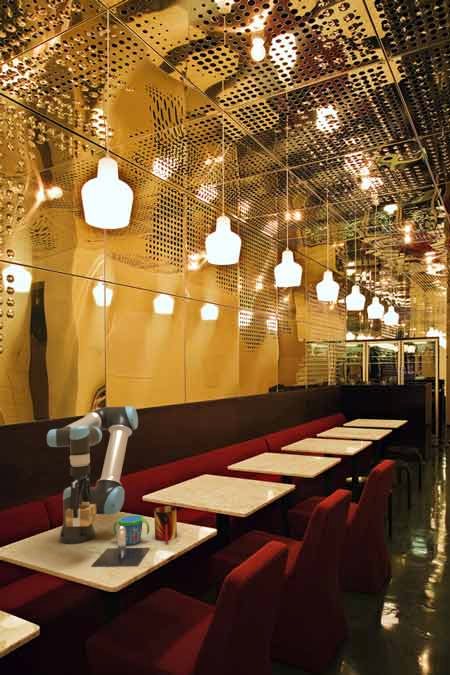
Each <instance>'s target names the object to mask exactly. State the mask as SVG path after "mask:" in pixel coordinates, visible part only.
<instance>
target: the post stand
mask: <svg viewBox="0 0 450 675" xmlns="http://www.w3.org/2000/svg"><path fill="white" fill-rule="evenodd" d="M116 535H117V536H116V538H117V547H113V548H110V547H109V548H106V549H105V550H104V552H102V553H101V554H100V556H99V557H98V558H97V559H96V560H95V561H94V562H93V563H92V564H91V567H92V568H98V567H101V568H102V567H103V568H104V567H105V568H106V567H111V568H112V567H139V566H140V564H141V562H143V560H144V558H146V555H147V554H148V552H149V551H150V550H151V547H127V545H126V532H125V527H124V526H120V525H119V526H118V527H117V529H116Z"/></svg>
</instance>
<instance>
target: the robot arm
mask: <svg viewBox="0 0 450 675" xmlns="http://www.w3.org/2000/svg"><path fill="white" fill-rule="evenodd" d="M138 425H139V416H138V413H137V410H136V408H135V407H134V406H132V405H130V406H129V405H128V406H127V405H124V406H105V407H100V408H97V409H95V410H92V411H90V412H88V413H86V414H85V415H84V416H83V417H82V418H80V419H78V420H77V421H74V422H72V423H70V424H68V425H66V426H64V427H62V428H55V429H54V428H53V429H50V430H49V431H48V432H47V434H46V443H47V446H49V447H51V448H65V447H69V450H70V451H69V452H70V453H69V454H70V456H69V460H70V465H71V466H70V468H69V469H70V476H72V477H74V480H73V481H71V482H70V486H68V487H66V488H65V489H63V496H62V500H63V501H62V503H63V504H62V505H63V506H62V508H63V523H62V525H61V526H62V527H61V530H60V534H59V542H60V543H62V544H71V545H72V544H79V543H83V542H88V541H91V540H92V539H94V538H95V536H96V534H95V533H96V531H95V528H94V525H93V522H92V523H91V524H90V525H89V526H80V509H79V504H96V515H106V516H108V515H116V514H117V513H119V512H120V511H121V509H122V508H123V505H124V501H125V495H126V494H125V489H124V487H123V485H122V483H121V481H120V479H121V475H122V471H123V470H122V469H123V464H124V460H125V454H126V449H127V443H128V438H129V437H130V436H132V434H133V430H137V429H138ZM102 431H108V432H109V433H110V435H109V441H108V445H107V449H106V453H105V457H104V463H103V466H102V467H103V468H102V472H101V476H100V478H99V479H98V480H97V481H96V484H95V487H93V486H91V482H90V479H91V478H90V477H91V476H90V474H91V465H90V463H91V458H90V457H91V456H90V454H91V452H90V447H92V446H96V445H97V444H99V443H100V442H101V441H102V438H103V432H102ZM69 508H70V510H73V526H74V527H66V510H68V509H69Z"/></svg>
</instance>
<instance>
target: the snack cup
mask: <svg viewBox="0 0 450 675" xmlns="http://www.w3.org/2000/svg"><path fill="white" fill-rule="evenodd" d="M143 523H145V525H146V535H149V533H150V524H149V522H148V520H147V519H145V518H144V516H142V515H139V514H131V515H126V516H123V517H120V518H119V519H117V520H116V521H115V523H114V525H113V530H112V533H113V535H114V536H116V535H117V529H116V526H117V524H118V525H119V526H124V527H125V532H126V546H130V545H132V546H133V545H137V544H139V543H140V542H141V540H142V532H143V531H142V529H143Z"/></svg>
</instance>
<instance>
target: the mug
mask: <svg viewBox="0 0 450 675" xmlns="http://www.w3.org/2000/svg"><path fill="white" fill-rule="evenodd" d="M153 514H154V517H153V518H154V540H156V541H159V542H166V543H168V542H169V541H173V540H175V539H176V538H177V537H178V528H177V527H178V525H177V524H178V522H177V508H176V507H175V506H160V507H157V508H155V509H154V513H153Z"/></svg>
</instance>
